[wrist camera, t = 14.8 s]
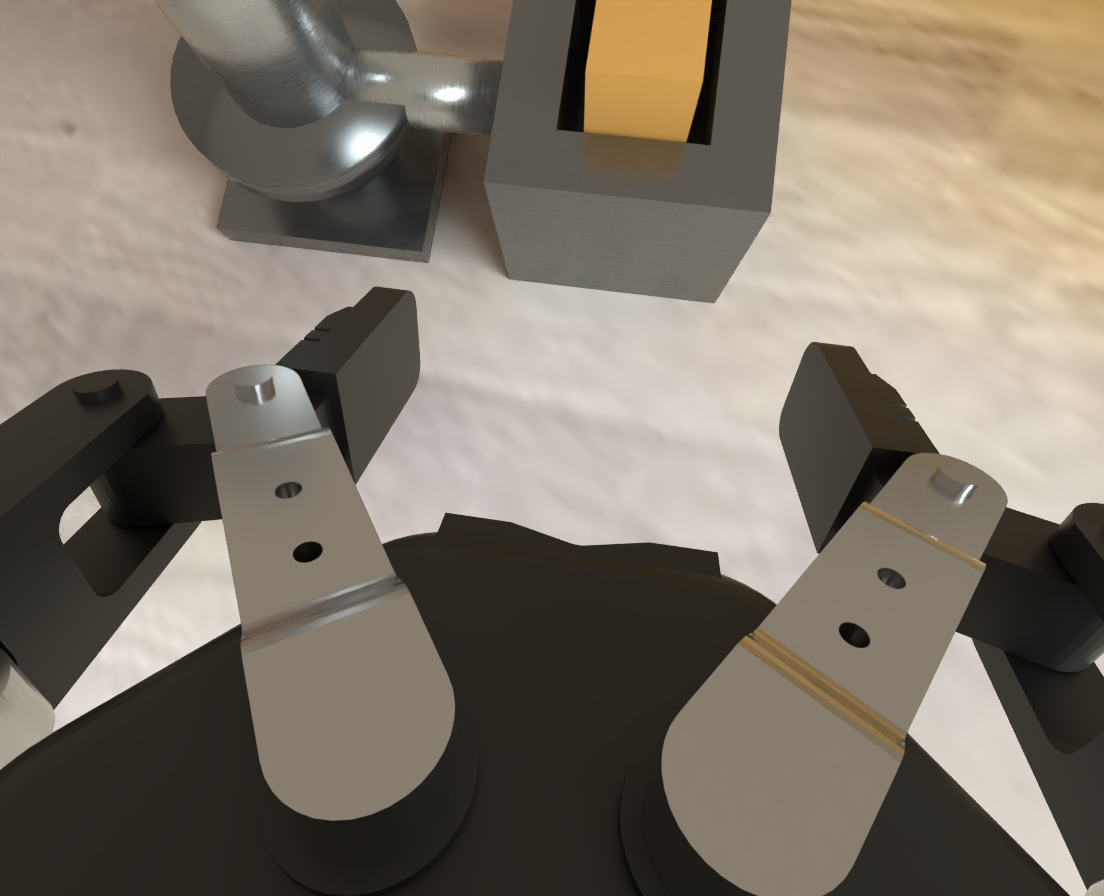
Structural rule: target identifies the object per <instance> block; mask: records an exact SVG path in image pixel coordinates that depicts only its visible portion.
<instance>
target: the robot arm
mask: <svg viewBox="0 0 1104 896" xmlns="http://www.w3.org/2000/svg"><path fill="white" fill-rule="evenodd" d="M419 373H420V350H419V337H418V323H417V309H416V301H415V297H414V294H413V293H412V292H411V291H407V290H399V289H391V288H383V287H373V288H372V289H371V290H370V291H369V292H368V293H367V294H366V295H365V296H364V297H363V298H362V299H361V300H360V301H359V302H358V303H357V304H356V305H355V306H354V307H346V308H344V309H342V310H339V311H337V312H335V313H333V314H330V315H328V316H327V317H325V318H324V319H323V320H322V321H321V322H320V323H319V324H318V325H317V326H316V327H315V330H312V331H311V332H310V333H308V334H307V335H306V336H305V337H304V340H301V341H300V342H299V343H298V344H297V345H296V346H295V347H294V348H293V349H291V350H290V351H289V352H288V353H287V354H286V355H285V356H284V357H283V358H282V359H281V360H280V361H279V362H278V363H277V364H275V365H254V366H247V367H242V368H238V369H235V370H232V371H229V372H227V373H225V374H223V375H221V376H219V377H218V378H216V379H215V380H213V381H212V382H211V383H210V384H209V386H208V387H207V390H206V396H201V397H182V398H162V399H159V398H158V395H157V393H156V390H155V388H154V385H153V383H152V381H151V379H150V377H148V376H147V375H146V374H143V373H141V372H138V371H133V370H122V369H120V370H105V371H98V372H93V373H89V374H85V375H82V376H78V377H75V378H73V379H70V380H68V381H66V382H64V383H61V384H60V385H58V386H56V387H55V388H53V389H52V390H50V391H49V392H47V393H46V394H44V395H43V396H41V397H40V398H39V399H37V400H36V401H34V402H33V403H31V404H30V405H28V406H27V407H25V408H24V409H23V410H21V411H20V412H18V413H17V414H15V415H14V416H12V417H11V418H9V419H8V420H6V421H5V422H4V423H2V424H1V425H0V896H1070V895H1069V894H1068V893H1067V892H1066V891H1065V890H1064V889H1063V888H1062V887H1061V886H1060V885H1059V884H1058V883H1057V882H1056V881H1055V880H1054V879H1053V878H1052V877H1051V876H1050V875H1049V874H1048V873H1047V872H1046V871H1045V870H1044V869H1043V868H1042V867H1041V866H1040V865H1039V864H1038V863H1037V862H1036V861H1035V860H1034V859H1033V858H1032V857H1031V856H1030V855H1029V854H1028V853H1027V852H1026V851H1025V850H1024V849H1023V848H1022V847H1021V846H1020V845H1019V844H1018V843H1017V842H1016V841H1015V840H1014V839H1013V838H1012V837H1011V836H1010V835H1009V834H1008V833H1007V832H1006V831H1005V830H1004V829H1003V828H1002V827H1001V826H1000V825H999V824H998V823H997V822H996V821H995V820H994V819H993V818H992V817H991V816H990V815H989V814H988V813H987V812H986V811H985V810H984V809H983V808H982V807H981V806H980V805H979V804H978V803H977V802H976V801H975V800H974V799H973V798H972V797H971V796H970V795H969V794H968V793H967V792H966V791H965V790H964V789H963V788H962V787H961V786H960V785H959V784H958V783H957V782H956V781H955V780H954V779H953V778H952V777H951V776H950V775H949V774H948V773H947V772H946V771H945V770H944V769H943V768H942V767H941V766H940V765H939V764H938V763H937V762H936V761H935V760H934V759H933V758H932V757H931V756H930V755H929V754H928V753H927V752H926V751H925V750H924V749H923V748H922V747H921V746H920V745H919V744H918V743H917V742H916V741H915V740H914V739H913V738H912V737H911V736H910V735H909V734H908V733H907V732H908V730H909V727H910V725H911V723H912V721H913V719H914V717H915V715H916V713H917V711H918V709H919V706H920V704H921V702H922V700H923V698H924V696H925V694H926V692H927V690H928V688H929V686H930V683H931V681H932V679H933V677H934V675H935V673H936V671H937V669H938V667H939V665H940V662H941V660H942V658H943V656H944V654H945V652H946V650H947V648H948V646H949V644H950V642H951V639H952V637H953V635H954V633H955V632H958V633H960V634H963V635H966V636H968V637H971V638H972V640H973V643H974V646H975V648H976V650H977V652H978V654H979V656H980V659H981V661H982V663H983V665H984V667H985V669H986V672H987V674H988V676H989V678H990V680H991V682H992V685H993V687H994V689H995V691H996V693H997V695H998V698H999V700H1000V702H1001V704H1002V706H1003V709H1004V711H1005V713H1006V715H1007V717H1008V719H1009V722H1010V724H1011V726H1012V728H1013V730H1014V732H1015V735H1016V737H1017V739H1018V741H1019V743H1020V745H1021V748H1022V750H1023V752H1024V754H1025V756H1026V758H1027V761H1028V763H1029V765H1030V767H1031V769H1032V772H1033V774H1034V776H1035V778H1036V780H1037V782H1038V785H1039V787H1040V789H1041V791H1042V793H1043V795H1044V798H1045V800H1046V802H1047V804H1048V806H1049V808H1050V811H1051V813H1052V815H1053V817H1054V819H1055V821H1056V824H1057V826H1058V828H1059V830H1060V832H1061V834H1062V837H1063V839H1064V841H1065V843H1066V845H1067V848H1068V850H1069V852H1070V854H1071V856H1072V858H1073V861H1074V863H1075V865H1076V867H1077V869H1078V871H1079V874H1080V876H1081V878H1082V880H1083V882H1084V884H1085V887H1086V889H1087V892H1086V894H1085V896H1104V677H1103V675H1102V674H1101V672H1100V670H1099V669H1098V667H1097V666H1096V664H1095V663H1094V661H1095V660H1096V659H1097V658H1098V657H1100V656H1101V655H1102V654H1103V653H1104V504H1099V503H1085V504H1081V505H1078V506H1077V507H1075V508H1074V509H1073V511H1072V512H1071V513H1070V514H1069V515H1068V516H1067V518H1066V519H1065V520H1064V521H1063V522H1062V523H1061V524H1056V523H1053V522H1050V521H1047V520H1044V519H1041V518H1038V517H1035V516H1031V515H1028V514H1025V513H1022V512H1019V511H1016V510H1013V509H1010V508H1007V507H1006V506H1007V502H1008V500H1007V495H1006V493H1005V491H1004V490H1003V488H1002V487H1001V486H1000V485H999V484H998V483H997V482H996V481H995V480H994V479H993V478H992V477H991V476H989V475H988V474H986V473H985V472H983V471H982V470H980V469H978V468H977V467H975V466H973V465H971V464H969V463H967V462H964V461H962V460H959V459H956V458H953V457H950V456H946V455H942V454H939V452H938V451H937V449H936V448H935V446H934V445H933V443H932V442H931V440H930V439H929V437H928V436H927V435H926V433H925V432H924V430H923V429H922V427H921V426H920V424H919V423H918V422H916V421H915V417H914V415H913V414H912V412H911V411H910V410H909V408H906V406H907V405H906V404H905V402H904V401H903V399H902V398H901V396H900V395H899V393H898V392H897V390H896V389H895V388H893V387H892V386H891V385H889V384H888V383H887V382H885V381H884V380H883V379H881V378H880V377H878V376H877V375H876V374H871V373H870V372H869V370H868V368H867V367H866V365H865V364H864V362H863V361H862V359H861V357H860V356H859V354H858V353H857V351H856V350H855V348H854V347H851V346H843V345H835V344H827V343H819V342H812V343H811V344H809V346H808V347H807V348H806V350H805V352H804V354H803V357H802V360H801V362H800V365H799V367H798V370H797V373H796V375H795V378H794V380H793V383H792V386H791V388H790V391H789V393H788V396H787V399H786V401H785V404H784V406H783V409H782V413H781V417H780V424H779V435H780V440H781V443H782V446H783V449H784V452H785V455H786V458H787V462H788V465H789V468H790V471H791V474H792V477H793V480H794V483H795V486H796V489H797V492H798V495H799V498H800V502H801V505H802V508H803V511H804V514H805V517H806V520H807V523H808V526H809V529H810V532H811V535H812V538H813V542H814V545H815V548H816V551H817V553H820V554H819V555H818V556H817V558H816V559H815V560H814V561H813V562H812V564H811V565H810V566H809V567H808V568H807V570H806V571H805V572H804V573H803V574H802V576H801V577H800V578H799V579H798V580H797V582H796V583H795V584H794V585H793V586H792V588H791V589H790V590H789V591H788V592H787V593H786V595H785V596H784V597H783V598H782V599H781V601H780V602H779V603H778V604H775V603H774V602H773V601H771V600H770V599H768V598H767V597H765V596H764V595H762V594H761V593H759V592H758V591H756V590H754V589H752V588H751V587H749V586H747V585H745V584H743V583H741V582H739V581H737V580H734V579H732V578H730V577H727V576H725V575H722V574H721V573H720V566H719V558H718V552H711V551H704V550H697V549H691V548H684V547H677V546H670V545H663V544H656V543H629V544H609V545H588V546H580V545H575V544H571V543H568V542H565V541H563V540H560V539H557V538H554V537H551V536H548V535H546V534H543V533H540V532H537V531H534V530H531V529H529V528H526V527H523V526H520V525H517V524H514V523H512V522H506V521H499V520H492V519H485V518H478V517H471V516H465V515H458V514H451V513H445V515H444V518H443V520H442V523H441V525H440V528H439V530H438V532H432V533H423V534H416V535H411V536H407V537H403V538H398V539H395V540H392V541H389V542H386V543H383V544H382V543H381V541H380V539H379V537H378V534H377V532H376V530H375V528H374V526H373V523H372V521H371V519H370V517H369V514H368V512H367V510H366V508H365V505H364V503H363V501H362V499H361V497H360V494H359V492H358V490H357V488H356V483H357V482H358V480H359V478H360V477H361V475H362V474H363V472H364V470H365V469H366V467H367V465H368V464H369V462H370V461H371V459H372V457H373V456H374V454H375V453H376V451H377V449H378V448H379V446H380V444H381V443H382V441H383V440H384V438H385V436H386V435H387V433H388V431H389V430H390V428H391V427H392V425H393V423H394V422H395V420H396V419H397V417H398V415H399V414H400V412H401V410H402V409H403V407H404V406H405V404H406V402H407V401H408V399H409V397H410V396H411V394H412V393H413V391H414V389H415V387H416V385H417V382H418V378H419ZM89 486H90V487H91V489H92V491H93V493H94V494H95V496H96V498H97V500H98V502H99V503H100V505H101V508H100V509H99V510H98V511H97V512H96V513H95V514H94V515H93V516H92V517H91V518H90V519H89V520H88V521H87V522H86V523H85V524H84V525H83V526H82V527H81V528H80V529H79V530H78V531H77V532H76V533H75V534H74V535H73V536H72V537H71V538H70V539H69V540H68V541H67V542H66V543H65V544H64V545H63V543H62V541H61V539H60V535H59V524H60V520H61V517H62V515H63V513H64V511H65V509H66V508H67V507H68V506H69V505H70V503H72V502H73V501H74V500H75V499H76V498H77V497H78V496H79V495H80V494H81V493H82V492H83V491H85V490H86V489H87V488H88V487H89ZM219 519H223V525H224V530H225V536H226V541H227V547H228V553H229V558H230V564H231V569H232V575H233V581H234V586H235V592H236V597H237V603H238V609H239V614H240V620H241V624H239V625H237V626H236V627H234V628H232V629H231V630H229V631H227V632H225V633H224V634H222V635H220V636H218V637H217V638H215V639H213V640H212V641H210V642H208V643H206V644H205V645H203V646H201V647H199V648H198V649H196V650H194V651H193V652H191V653H189V654H187V655H186V656H184V657H182V658H181V659H179V660H177V661H175V662H174V663H172V664H170V665H168V666H167V667H165V668H163V669H162V670H160V671H158V672H156V673H155V674H153V675H151V676H149V677H148V678H146V679H144V680H143V681H141V682H139V683H137V684H136V685H134V686H132V687H131V688H129V689H127V690H125V691H124V692H122V693H120V694H118V695H117V696H115V697H113V698H112V699H110V700H108V701H106V702H105V703H103V704H101V705H99V706H98V707H96V708H94V709H93V710H91V711H89V712H87V713H86V714H84V715H82V716H81V717H79V718H77V719H75V720H74V721H72V722H70V723H68V724H67V725H65V726H63V727H62V728H60V729H58V730H56V731H55V732H53V728H54V724H55V714H54V711H53V710H54V709H55V708H56V707H57V705H58V704H59V703H60V702H61V700H62V699H63V698H64V696H65V695H66V694H67V693H68V691H69V690H70V689H71V688H72V686H73V685H74V684H75V682H76V681H77V680H78V679H79V677H80V676H81V675H82V674H83V672H84V671H85V670H86V668H87V667H88V666H89V665H90V663H91V662H92V661H93V660H94V658H95V657H96V656H97V654H98V653H99V652H100V651H101V649H102V648H103V647H104V646H105V644H106V643H107V642H108V640H109V639H110V638H111V637H112V635H113V634H114V633H115V631H116V630H117V629H118V628H119V626H120V625H121V624H122V623H123V621H124V620H125V619H126V617H127V616H128V615H129V614H130V612H131V611H132V610H133V609H134V607H135V606H136V605H137V603H138V602H139V601H140V600H141V598H142V597H143V596H144V595H145V593H146V592H147V591H148V589H149V588H150V587H151V586H152V584H153V583H154V582H155V581H156V579H157V578H158V577H159V575H160V574H161V573H162V572H163V570H164V569H165V568H166V567H167V565H168V564H169V563H170V561H171V560H172V559H173V558H174V556H175V555H176V554H177V552H178V551H179V550H180V549H181V547H182V546H183V545H184V544H185V542H186V541H187V540H188V538H189V537H190V536H191V535H192V533H193V532H194V531H195V530H196V528H197V527H198V526H199V524H200V523H201V521H208V520H219ZM52 732H53V733H52Z"/></svg>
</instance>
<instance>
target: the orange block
mask: <svg viewBox="0 0 1104 896" xmlns="http://www.w3.org/2000/svg"><path fill="white" fill-rule="evenodd" d="M711 4H712V0H596V6H595V13H594V20H593V26H592V33H591V39H590V46H589V52H588V59H587V65H586V75H585V112H584V133H593V134H603V135H613V136H622V137H632V138H642V139H652V140H662V141H672V142H681V143H686V141H687V138H688V134H689V130H690V127H691V123H692V119H693V116H694V112H695V109H696V105H697V101H698V98H699V94H700V90H701V87H702V83H703V76H704V67H705V58H706V49H707V40H708V31H709V22H710V13H711Z"/></svg>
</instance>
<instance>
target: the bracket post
mask: <svg viewBox="0 0 1104 896" xmlns="http://www.w3.org/2000/svg"><path fill="white" fill-rule="evenodd" d="M153 1H154V2H155V3H156V4H157V6H158V7H159V8H160V9H161V11H162V12H163V13H164V14H165V16H166V17H167V18H168V19H169V21H170V22H171V23H172V24H173V26H174V27H175V28H176V29H177V31H178V32H179V33H180V34H181V37H180V39H179V41H178V44H177V47H176V50H175V53H174V57H173V63H172V68H171V94H172V101H173V105H174V109H175V113H176V115H177V118H178V120H179V122H180V125H181V127H182V128H183V130H184V132H185V133H186V135H187V137H188V138H189V140H190V141H191V142H192V143H193V144H194V145H195V147H196V148H197V149H198V150H199V151H200V152H201V153H202V154H203V155H204V156H205V157H206V158H207V159H208V160H209V161H210V162H211V163H212V164H213V165H214V166H215V167H216V168H217V169H218V170H219V171H220V172H221V173H222V174H223V175H224V176H226V177H227V178H228V181H227V186H226V190H225V194H224V199H223V203H222V207H221V212H220V216H219V220H218V225H217V229H218V230H219V231H221V232H222V233H223V234H224V235H225V236H227V237H228V238H229V239H230V240H237V241H245V242H254V243H262V244H271V245H279V246H288V247H297V248H305V249H314V250H322V251H331V252H339V253H348V254H357V255H365V256H374V257H382V258H391V259H399V260H408V261H416V262H425V263H429V258H430V252H431V246H432V241H433V235H434V230H435V224H436V218H437V213H438V207H439V201H440V196H441V190H442V185H443V179H444V173H445V168H446V162H447V157H448V151H449V145H450V140H451V134H452V133H461V134H471V135H481V136H491V139H490V145H489V151H488V156H487V162H486V168H485V174H484V180H483V183H484V187H485V191H486V194H487V198H488V202H489V206H490V209H491V213H492V217H493V221H494V224H495V228H496V232H497V236H498V239H499V243H500V247H501V251H502V255H503V258H504V262H505V266H506V270H507V273H508V277H509V279H513V280H522V281H530V282H539V283H547V284H556V285H564V286H573V287H581V288H590V289H598V290H607V291H615V292H624V293H632V294H641V295H649V296H658V297H666V298H675V299H684V300H692V301H701V302H709V303H715V302H716V300H717V298H718V297H719V295H720V294H721V292H722V290H723V289H724V287H725V286H726V284H727V282H728V281H729V279H730V278H731V276H732V274H733V273H734V271H735V270H736V268H737V266H738V265H739V263H740V261H741V260H742V258H743V257H744V255H745V253H746V252H747V250H748V249H749V247H750V245H751V244H752V242H753V241H754V239H755V237H756V236H757V234H758V233H759V231H760V229H761V228H762V226H763V225H764V223H765V221H766V220H767V218H768V217H769V215H770V213H771V205H772V195H773V184H774V174H775V164H776V153H777V143H778V133H779V122H780V112H781V102H782V91H783V81H784V71H785V60H786V50H787V40H788V30H789V19H790V9H791V0H712V4H711V13H710V22H709V31H708V40H707V49H706V58H705V67H704V76H703V83H702V87H701V90H700V94H699V98H698V101H697V105H696V109H695V112H694V116H693V119H692V123H691V127H690V130H689V134H688V138H687V141H686V143H681V142H672V141H662V140H652V139H642V138H632V137H622V136H613V135H603V134H593V133H584V112H585V75H586V65H587V59H588V52H589V46H590V39H591V33H592V26H593V20H594V13H595V6H596V0H514V2H513V8H512V14H511V20H510V26H509V32H508V38H507V44H506V50H505V55H504V61H502V60H491V59H481V58H470V57H460V56H449V55H439V54H428V53H418V51H417V48H416V45H415V42H414V39H413V36H412V33H411V30H410V27H409V24H408V21H407V19H406V17H405V15H404V13H403V11H402V9H401V8H400V7H399V5H398V4H397V2H396V1H395V0H153Z"/></svg>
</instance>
